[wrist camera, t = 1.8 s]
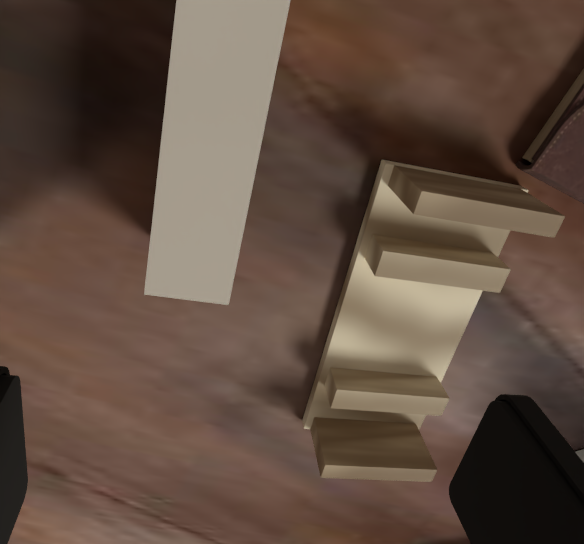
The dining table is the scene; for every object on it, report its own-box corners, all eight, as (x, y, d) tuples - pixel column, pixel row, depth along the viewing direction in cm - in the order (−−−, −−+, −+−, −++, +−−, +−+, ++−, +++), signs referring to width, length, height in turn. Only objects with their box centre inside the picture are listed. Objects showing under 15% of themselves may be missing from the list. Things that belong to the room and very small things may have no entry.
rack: (381, 159, 27) (412, 189, 23) (521, 185, 29) (573, 217, 25) (302, 420, 36) (313, 477, 32) (413, 427, 38) (437, 482, 34)
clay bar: (190, -39, 22) (181, -50, 17) (277, -15, 23) (293, -19, 18) (157, 240, 28) (144, 294, 23) (226, 250, 29) (228, 304, 24)
